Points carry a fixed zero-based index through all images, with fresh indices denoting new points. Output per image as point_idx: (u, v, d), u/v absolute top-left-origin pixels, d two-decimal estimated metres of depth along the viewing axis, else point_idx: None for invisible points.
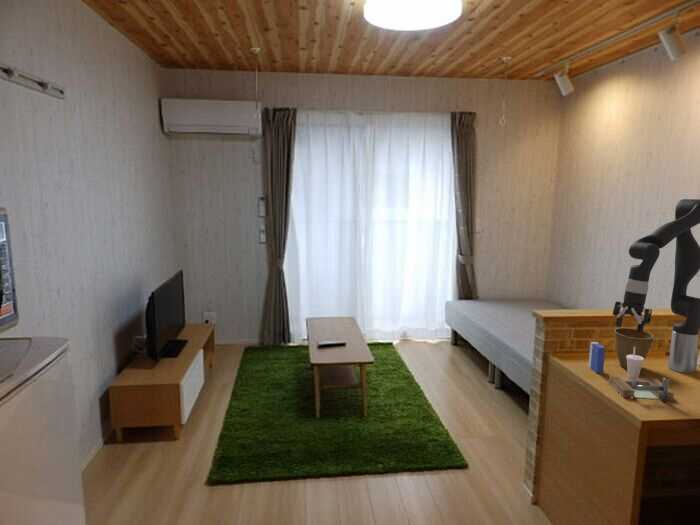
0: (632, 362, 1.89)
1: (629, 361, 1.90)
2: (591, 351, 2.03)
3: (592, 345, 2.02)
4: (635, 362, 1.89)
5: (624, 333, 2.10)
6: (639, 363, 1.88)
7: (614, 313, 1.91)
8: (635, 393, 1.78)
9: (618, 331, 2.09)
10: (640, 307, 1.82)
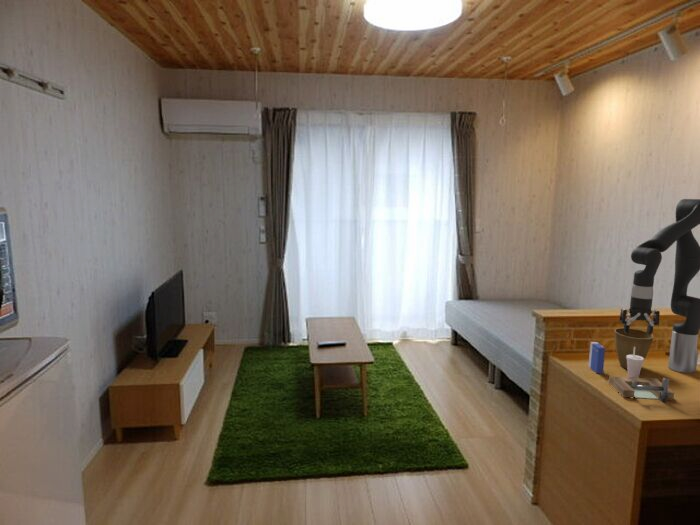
0: (632, 362, 1.89)
1: (629, 361, 1.90)
2: (591, 351, 2.03)
3: (592, 345, 2.02)
4: (635, 362, 1.89)
5: (624, 333, 2.10)
6: (639, 363, 1.88)
7: (623, 321, 1.88)
8: (635, 393, 1.78)
9: (618, 331, 2.09)
10: (650, 310, 1.86)
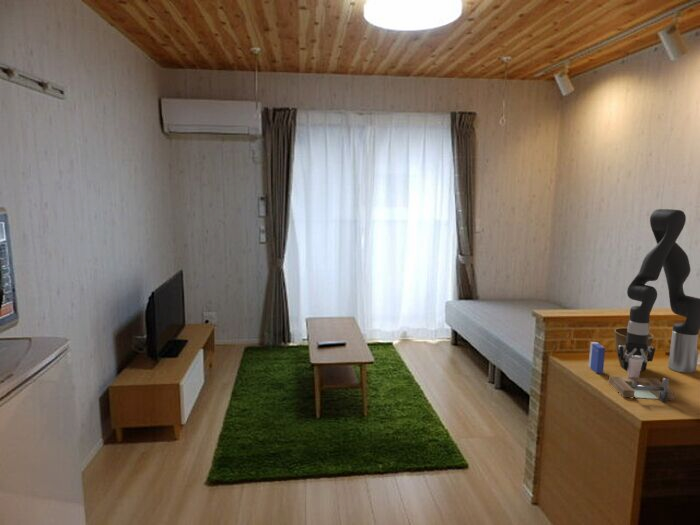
0: (632, 362, 1.89)
1: (629, 361, 1.90)
2: (591, 351, 2.03)
3: (592, 345, 2.02)
4: (635, 362, 1.89)
5: (624, 333, 2.10)
6: (639, 363, 1.88)
7: (622, 358, 1.91)
8: (635, 393, 1.78)
9: (618, 331, 2.09)
10: (647, 346, 1.89)
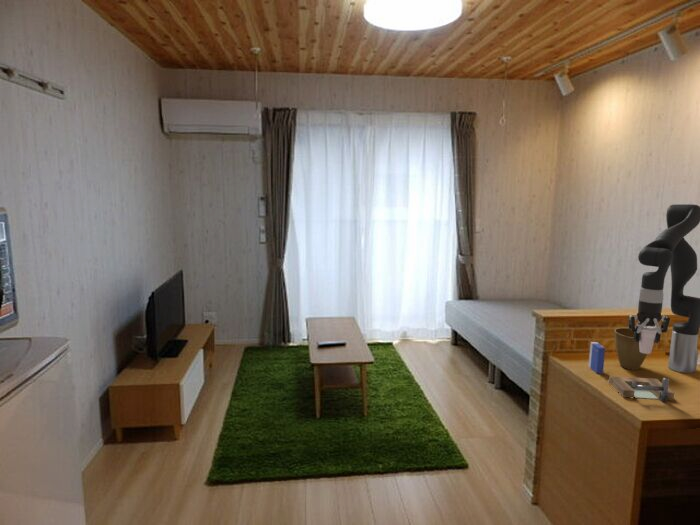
0: (644, 333, 1.73)
1: (641, 332, 1.74)
2: (591, 351, 2.03)
3: (592, 345, 2.02)
4: (648, 333, 1.72)
5: (624, 333, 2.10)
6: (652, 334, 1.72)
7: (633, 329, 1.74)
8: (635, 393, 1.78)
9: (618, 331, 2.09)
10: (661, 316, 1.72)
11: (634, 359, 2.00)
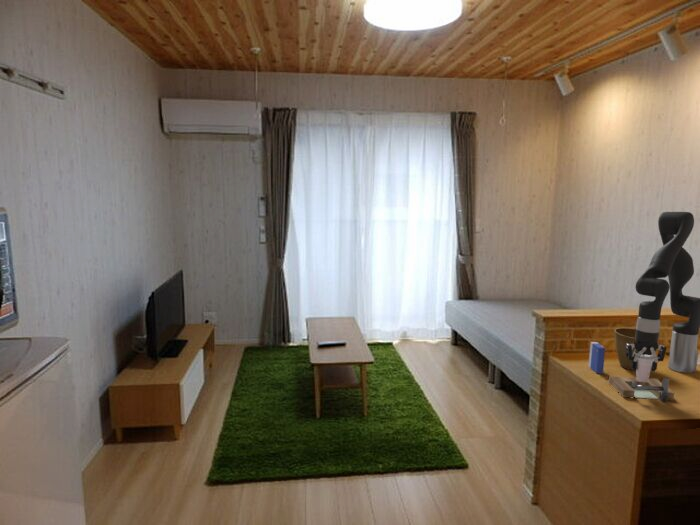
0: (641, 362, 1.75)
1: (638, 361, 1.76)
2: (591, 351, 2.03)
3: (592, 345, 2.02)
4: (645, 362, 1.74)
5: (624, 333, 2.10)
6: (649, 363, 1.74)
7: (630, 357, 1.76)
8: (635, 393, 1.78)
9: (618, 331, 2.09)
10: (657, 345, 1.74)
11: None
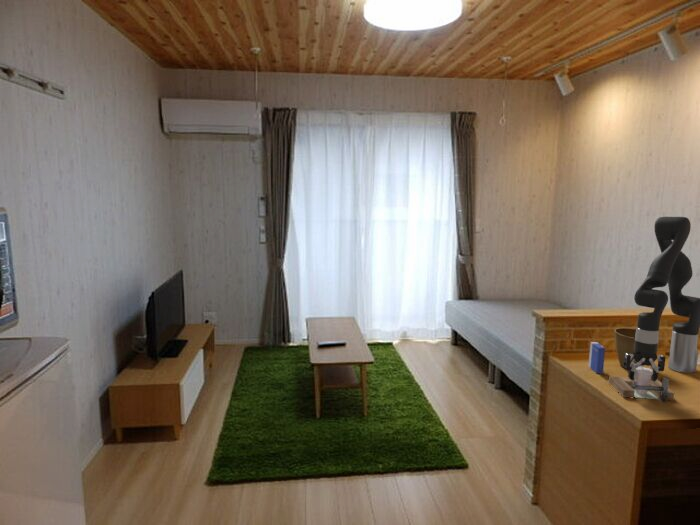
0: (640, 375, 1.76)
1: (637, 374, 1.77)
2: (591, 351, 2.03)
3: (592, 345, 2.02)
4: (643, 375, 1.75)
5: (624, 333, 2.10)
6: (648, 376, 1.75)
7: (628, 367, 1.77)
8: (635, 393, 1.78)
9: (618, 331, 2.09)
10: (656, 355, 1.75)
11: None
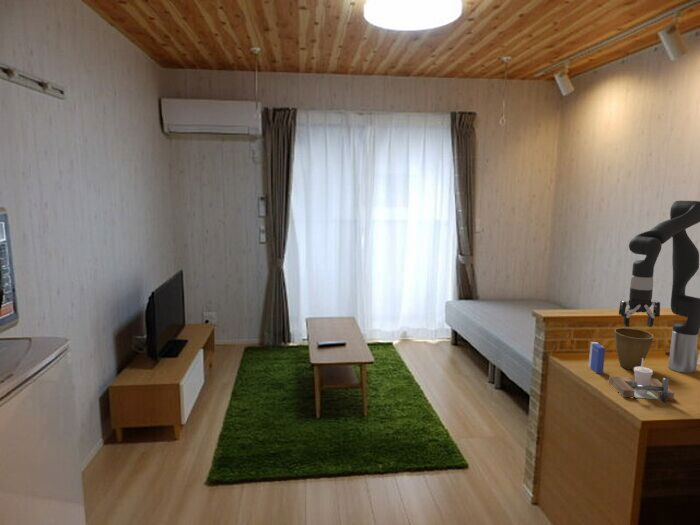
0: (640, 375, 1.76)
1: (637, 374, 1.77)
2: (591, 351, 2.03)
3: (592, 345, 2.02)
4: (643, 375, 1.75)
5: (624, 333, 2.10)
6: (648, 376, 1.75)
7: (623, 314, 1.81)
8: (635, 393, 1.78)
9: (618, 331, 2.09)
10: (651, 302, 1.79)
11: (634, 359, 2.00)
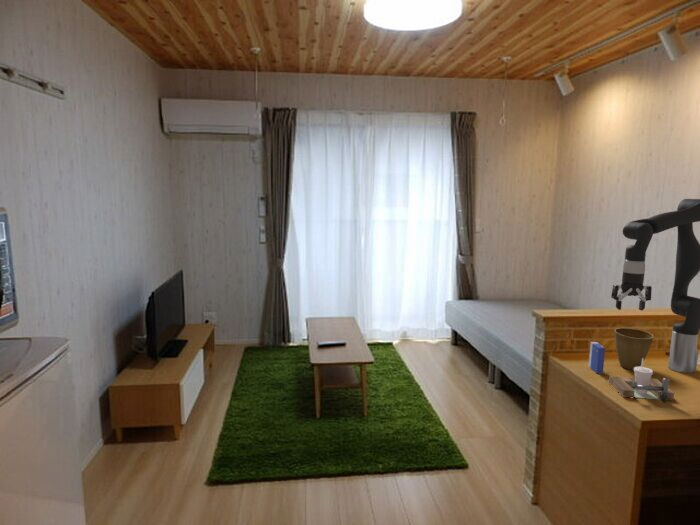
0: (640, 375, 1.76)
1: (637, 374, 1.77)
2: (591, 351, 2.03)
3: (592, 345, 2.02)
4: (643, 375, 1.75)
5: (624, 333, 2.10)
6: (648, 376, 1.75)
7: (615, 297, 1.87)
8: (635, 393, 1.78)
9: (618, 331, 2.09)
10: (642, 286, 1.85)
11: (634, 359, 2.00)
